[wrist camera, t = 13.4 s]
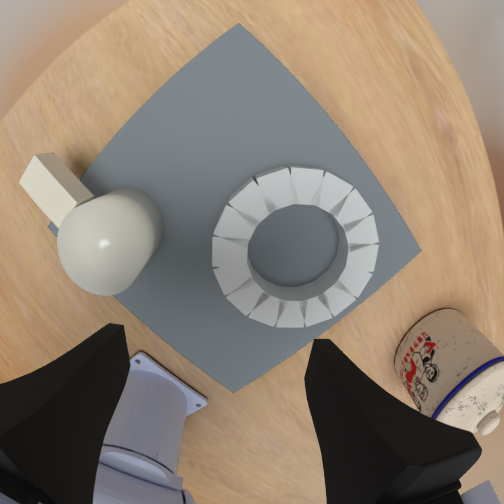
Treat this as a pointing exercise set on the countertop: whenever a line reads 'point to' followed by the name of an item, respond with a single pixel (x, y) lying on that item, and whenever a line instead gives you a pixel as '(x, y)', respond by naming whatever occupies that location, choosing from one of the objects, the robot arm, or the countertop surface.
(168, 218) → the stand
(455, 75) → the countertop surface
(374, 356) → the countertop surface
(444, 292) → the countertop surface
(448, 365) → the teacup with lid
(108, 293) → the cream post on cylinder
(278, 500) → the countertop surface
